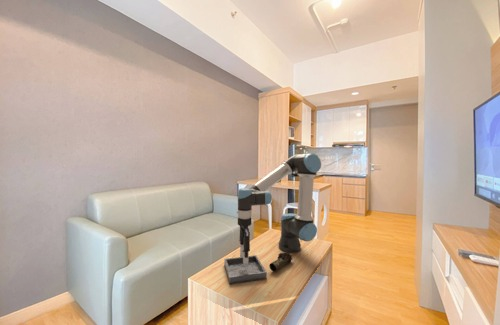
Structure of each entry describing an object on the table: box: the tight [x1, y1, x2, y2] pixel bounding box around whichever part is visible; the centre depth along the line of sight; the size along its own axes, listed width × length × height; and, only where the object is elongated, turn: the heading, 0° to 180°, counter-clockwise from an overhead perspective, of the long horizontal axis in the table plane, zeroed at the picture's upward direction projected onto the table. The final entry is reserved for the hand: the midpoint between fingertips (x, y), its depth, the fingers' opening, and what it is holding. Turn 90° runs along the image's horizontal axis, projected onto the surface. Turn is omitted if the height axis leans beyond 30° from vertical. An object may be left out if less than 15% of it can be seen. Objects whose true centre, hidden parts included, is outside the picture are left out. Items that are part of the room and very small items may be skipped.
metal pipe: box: [269, 252, 293, 273], centre depth 114 cm, size 18×7×6 cm, turn 137°
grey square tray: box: [223, 254, 268, 286], centre depth 108 cm, size 19×19×4 cm
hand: (244, 259), depth 108 cm, fingers open, 7 cm apart
